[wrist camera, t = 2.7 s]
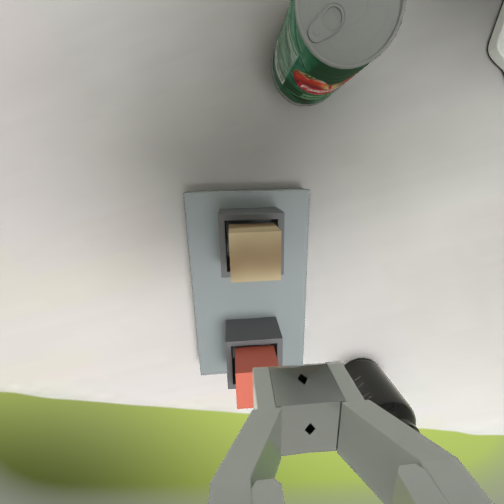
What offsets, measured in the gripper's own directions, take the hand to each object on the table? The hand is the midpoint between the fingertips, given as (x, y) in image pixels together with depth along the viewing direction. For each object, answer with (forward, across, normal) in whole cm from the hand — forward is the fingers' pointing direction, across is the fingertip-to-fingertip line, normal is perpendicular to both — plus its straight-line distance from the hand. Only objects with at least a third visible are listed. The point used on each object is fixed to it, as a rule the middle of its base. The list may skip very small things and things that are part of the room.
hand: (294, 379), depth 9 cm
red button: (+18, 0, +14) cm, 23 cm away
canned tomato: (+25, -7, -18) cm, 32 cm away
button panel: (+25, 0, +7) cm, 26 cm away
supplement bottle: (+25, -17, +24) cm, 39 cm away
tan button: (+18, 0, 0) cm, 18 cm away
